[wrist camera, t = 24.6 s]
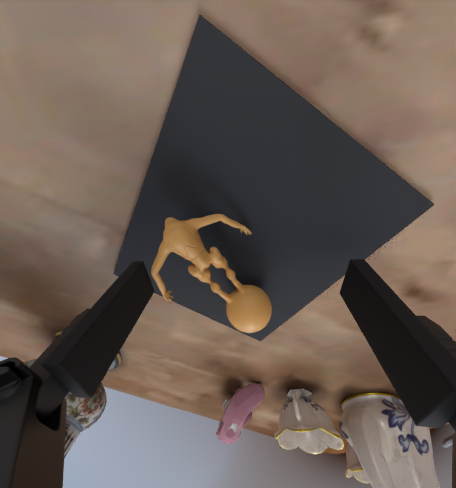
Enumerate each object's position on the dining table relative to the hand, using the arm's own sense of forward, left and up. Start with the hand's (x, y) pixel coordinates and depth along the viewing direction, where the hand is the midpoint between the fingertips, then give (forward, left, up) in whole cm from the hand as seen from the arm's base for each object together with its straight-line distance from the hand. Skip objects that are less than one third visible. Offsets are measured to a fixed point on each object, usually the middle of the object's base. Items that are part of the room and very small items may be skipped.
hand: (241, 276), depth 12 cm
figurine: (+5, -4, 0) cm, 7 cm away
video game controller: (+15, -24, -4) cm, 29 cm away
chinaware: (+31, -16, -4) cm, 35 cm away
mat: (0, 0, -4) cm, 4 cm away
